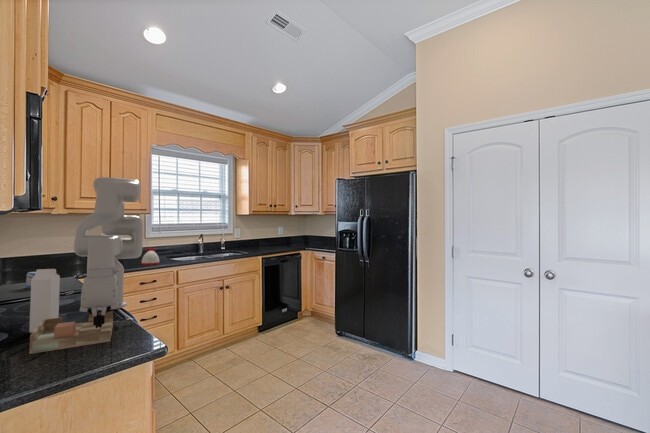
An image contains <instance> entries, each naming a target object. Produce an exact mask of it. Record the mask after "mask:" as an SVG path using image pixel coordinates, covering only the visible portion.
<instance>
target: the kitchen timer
mask: <svg viewBox="0 0 650 433" xmlns="http://www.w3.org/2000/svg"><path fill="white" fill-rule="evenodd" d="M145 250H146V253H145V254H144V255H143V256H142V259H141V263H140V264H141V265H143V266H154V265H153V264H156V265H159V264H160V257H159V255H158V254H157V253H156V251H157V249H155V248H153V247H146V249H145Z"/></svg>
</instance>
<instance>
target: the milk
mask: <svg viewBox="0 0 650 433" xmlns="http://www.w3.org/2000/svg"><path fill="white" fill-rule="evenodd" d="M35 272H36V274H35V276H34V277H33V278H32V279H31V288H30V303H29V305H30V308H29V333H33V332H34V330H35V329H36V328H37V327H38V326H39V324H40V323H41V322H42V321H43V320H44V319H51V318H60V316H59V315H60V312H59V310H60V287H61V286H60V284H61V283H60V282H61V279H60V278H61V275H60V274H58V273H57V269H56V268H45V269H44V268H43V269H42V268H39V269H36V270H35Z"/></svg>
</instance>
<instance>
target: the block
mask: <svg viewBox="0 0 650 433" xmlns="http://www.w3.org/2000/svg"><path fill="white" fill-rule="evenodd" d="M76 324H77V321H69V322H62V323H58V325H57V326H56V327H55V328H54V338H60V337H67V336H74V335H75V334H76Z"/></svg>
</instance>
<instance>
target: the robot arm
mask: <svg viewBox="0 0 650 433" xmlns="http://www.w3.org/2000/svg"><path fill="white" fill-rule="evenodd" d="M92 185H93V189H94V192H95V194H96V195H95V204H94V211H93V212H92V213H90V214H88V215H87V216H86V217H84V218H83V219H82V220H81V221H80V223H79V224H78V226H77V227H76V230H75V236H74V240H73V241H74V242H73V251H74V253H75V255H76V256H78V257H87V259H86V260H87V261H86V262H87V263H86V277H84V278H83V282H82V285H81V286H82V287H81V292H80V308H79V312H82V313H83V312H84V313H88V314H91V315H93V316H94V321H93V325H96V328H98V327H100V328H101V327H102V324H104V322H105V314H106V313H107V312H110V311H112V310H113V311H114V310H118V309H122V308H124V307H126V306H127V305H128V302H126V301H124V284H125V283H124V282H125V281H124V278H125V277H124V276H125V275H124V273H125V272H124V271H125V268H124V266H123V264H122V263H121V262H120V261H119V260H125V259H126V260H127V259H138V258H139V257H141V256H142V253H143V238H144V237H143V233H144V232H143V231H144V230H143V220H142V218H141V216H139V215H125V204H124V203H126V202H127V203H136V202H138V201H139V199H140V197H141V192H142V185H141V182H140V181H139V180H138V179H134V178H133V179H132V178H131V179H129V178H122V177H121V178H118V177H108V176H107V177H103V176H102V177H97V178H95V179H94V180H93V184H92ZM99 226H101V231H102V234H104V235H89V234H87V233H89V232H90V231H91V230H93V229H94V228H97V227H99ZM121 237H123V238H121ZM124 237H125V238H124ZM126 237H130V238H126ZM98 311H101V312H98ZM99 313H100V316H99Z"/></svg>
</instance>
